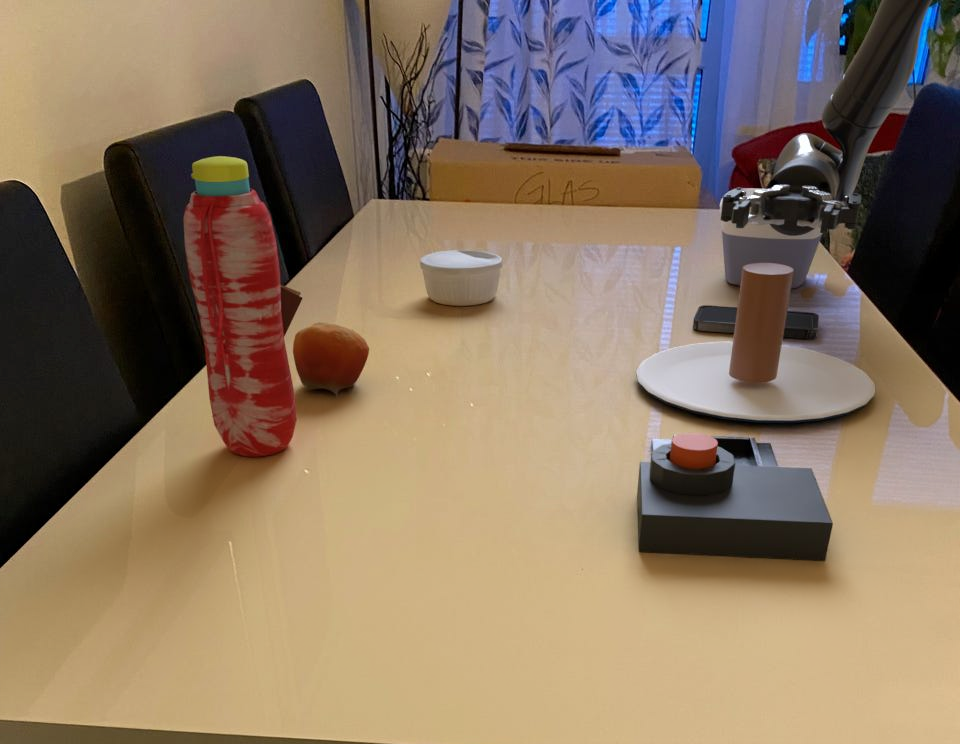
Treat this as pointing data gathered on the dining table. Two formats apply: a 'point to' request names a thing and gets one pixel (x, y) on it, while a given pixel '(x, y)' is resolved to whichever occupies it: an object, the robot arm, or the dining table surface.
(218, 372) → the water bottle
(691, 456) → the button
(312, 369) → the fruit
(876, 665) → the dining table surface
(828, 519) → the red push button box
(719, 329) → the phone
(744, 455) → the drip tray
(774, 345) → the tall brown tube
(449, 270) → the ramekin
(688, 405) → the plate
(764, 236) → the white and lavender bin
